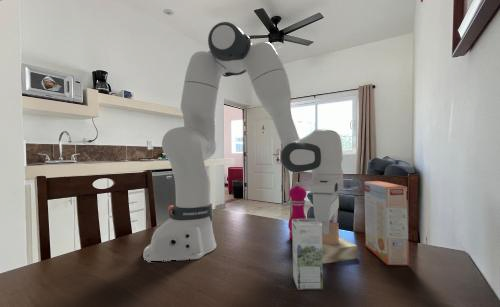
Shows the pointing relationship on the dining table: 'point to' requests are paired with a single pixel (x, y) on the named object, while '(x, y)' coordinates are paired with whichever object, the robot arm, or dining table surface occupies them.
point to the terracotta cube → (331, 234)
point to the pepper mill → (297, 204)
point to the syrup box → (307, 254)
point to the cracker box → (387, 221)
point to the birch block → (339, 251)
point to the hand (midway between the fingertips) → (328, 229)
